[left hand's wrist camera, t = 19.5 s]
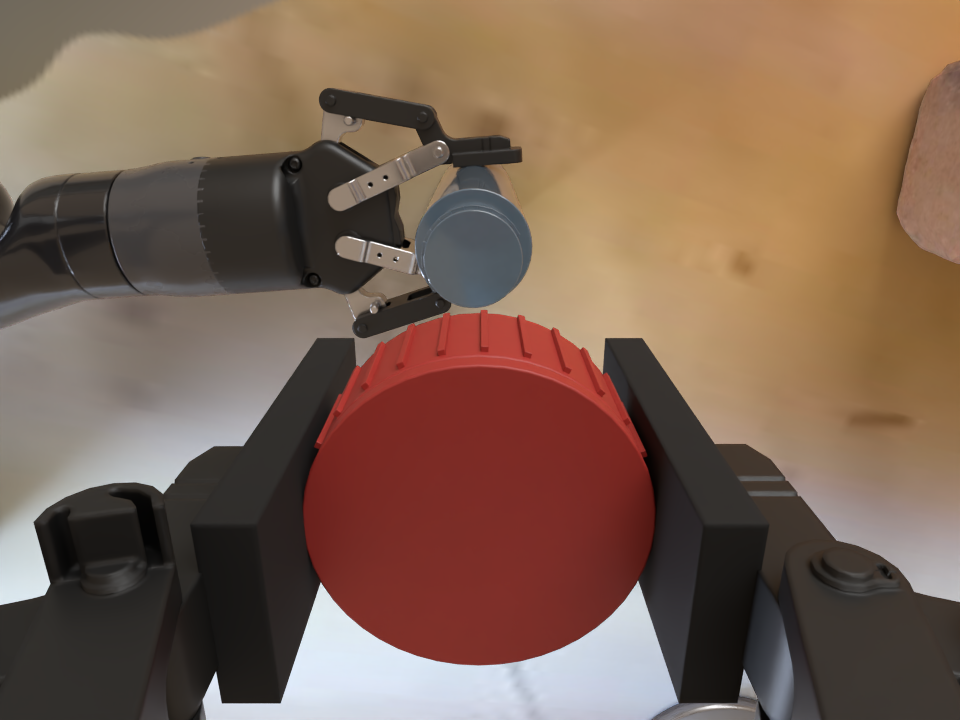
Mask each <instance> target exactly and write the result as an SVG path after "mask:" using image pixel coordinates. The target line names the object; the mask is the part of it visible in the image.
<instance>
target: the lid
mask: <svg viewBox="0 0 960 720" xmlns="http://www.w3.org/2000/svg"><path fill="white" fill-rule="evenodd" d="M314 447H315V448H317V449H319V451H318V453H317V455H316V457H315V460H314V462H313V464H312V466H311V468H310V472H309V475H308V479H307V482H306V486H305V490H304V498H303V518H304V528H305V536H306V545H307V550H308V553H309V556H310V559H311V562H312V565H313V567H314V569H315V571H316V573H317V575H318V577H319V579H320V581H321V583H322V585H323V586H324V587H325V589H326V590H327V592H328V593H329V595H330V596H331V597H332V599H333V600H334V601H335V602H336V604H337V605H338V606H339V607H340V608H341V609H342V610H343V611H344V612H345V613H346V614H347V615H348V616H349V617H350V618H351V619H352V620H354V621H355V622H356V623H357V624H358V625H359V626H361V627H362V628H363V629H365V630H366V631H368V632H369V633H371V634H372V635H374V636H375V637H377V638H378V639H380V640H382V641H384V642H386V643H388V644H390V645H392V646H394V647H396V648H398V649H400V650H403V651H406V652H408V653H411V654H414V655H416V656H420V657H423V658H427V659H431V660H435V661H440V662H446V663H453V664H462V665H497V664H505V663H512V662H519V661H523V660H527V659H531V658H535V657H539V656H542V655H545V654H547V653H550V652H553V651H555V650H558V649H560V648H562V647H564V646H566V645H568V644H570V643H572V642H574V641H576V640H578V639H580V638H581V637H583V636H584V635H586V634H587V633H589V632H590V631H592V630H593V629H595V628H596V627H597V626H599V625H600V624H601V623H602V622H603V621H605V620H606V619H607V618H608V617H609V616H611V615H612V613H613V612H614V611H615V610H616V609H617V608H618V607H619V606H620V605H621V604H622V603H623V602H624V600H625V599H626V598H627V596H628V595H629V593H630V592H631V591H632V589H633V588H634V586H635V585H636V583H637V581H638V579H639V577H640V575H641V573H642V572H643V570H644V568H645V565H646V562H647V559H648V556H649V554H650V551H651V548H652V543H653V537H654V531H655V517H656V506H655V498H654V489H653V485H652V482H651V478H650V475H649V471H648V468H647V466H646V464H645V462H644V460H643V458H644V457H647V453H646V451H645V448H644V446H643V444H642V442H641V440H640V438H639V436H638V434H637V432H636V429H635V427H634V425H633V423H632V421H631V419H630V417H629V415H628V413H627V411H626V408H625V406H624V404H623V402H621V400H620V398H619V395H618V393H617V391H616V389H615V387H614V385H613V383H612V381H611V379H610V377H609V375H608V374H607V373H605V374H603V375H602V373H601V371H600V370H599V369H598V368H597V367H596V365H595V364H594V363H593V362H592V360H591V358H590V355H589V353H588V351H587V350H586V349H585V348H584V347H583V348H582V349H581V350H580V349H579V348H577V347H576V346H575V345H574V344H573V343H571V342H570V341H568V340H567V339H565V338H563V337H562V336H560V333H559V330H557V329H556V328H553V329H552V330H549V329H547V328H545V327H543V326H541V325H539V324H536V323H533V322H530V321H526V320H525V317H524V316H522V315H518V317H517V318H516V317H510V316H505V315H500V314H488V313H487V310H481V313H474V314H458V315H453V316H450V313H445V314H443V318H438V319H435V320H432V321H429V322H426V323H423V324H420V325H418V326H415V324H414V323H413V324H411V325H409V326H408V328H407V331H405V332H403V333H401V334H399V335H398V336H396V337H395V338H393V339H392V340H390V341H389V342H387V343H386V344H384V342H381V343H379V344H378V346H377V348H376V350H375V353H374V354H373V355H372V356H371V357H370V358H369V359H368V360H367V361H366V362H365V364H364V365H363V366H362V367H361V368H360V367H359V366H356V367H355V369H354V370H353V372H352V374H351V376H350V379H349V381H348V383H347V385H346V387H345V389H344V391H343V393H342V394H339V396H338V398H337V400H336V402H335V404H334V406H333V408H332V410H331V412H330V414H329V416H328V418H327V420H326V423H325V425H324V427H323V429H322V431H321V433H320V435H319V437H318V439H317V441H316V443H315V446H314Z"/></svg>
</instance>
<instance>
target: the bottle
mask: <svg viewBox="0 0 960 720" xmlns="http://www.w3.org/2000/svg"><path fill="white" fill-rule="evenodd" d="M415 255H416V260H417V264H418V267H419V269H420V271H421V273H422V275H423V277H424V278H425V280H426V282H427V284H428V285H429V286H430V288H431V289H432V291H433V292H437V293H438V294H439V295H440V296H441V297H443V298H444V299H445V300H447V301H449V302H451V303H453V304H455V305H458V306H462V307H467V308H479V307H485V306H489V305H491V304H494V303H496V302H498V301H499V300H501V299H502V298H504V297H505V296H506V295H507V294H508V293H510V292H511V291H512V290H513V289H514V288H515V287H516V286H517V285H518V284H519V283H520V282H521V280H522V279H523V277H524V276H525V274H526V272H527V270H528V267H529V264H530V261H531V256H532V237H531V233H530V229H529V226H528V224H527V221H526V219H525V216H524V213H523V211H522V208H521V206H520V203H519V201H518V198H517V195H516V193H515V190H514V188H513V185H512V182H511V180H510V177H509V176H508V174H507V172H506V171H505V169H504V168H503V167H502V166H501V165H500V164H495V165H483V166H469V167H457V168H453V164H452V165H451V166H450V167H449V168H448V169H447V170H446V171H445V173H444V174H443V176H442V178H441V180H440V182H439V184H438V186H437V188H436V191H435V193H434V195H433V197H432V199H431V201H430V203H429V205H428V207H427V209H426V211H425V213H424V215H423V217H422V219H421V221H420V224H419V226H418V229H417V233H416V238H415Z"/></svg>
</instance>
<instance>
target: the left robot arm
mask: <svg viewBox="0 0 960 720" xmlns="http://www.w3.org/2000/svg"><path fill="white" fill-rule="evenodd" d="M355 367H356V357H355V342H354V338H317V339H316V341H315V342H314V344H313V345H312V347H311V348H310V350H309V351H308V353H307V354H306V356H305V357H304V358H303V360H302V361H301V363H300V364H299V366H298V367H297V369H296V370H295V372H294V373H293V375H292V376H291V377H290V379H289V380H288V382H287V383H286V385H285V386H284V388H283V389H282V391H281V392H280V394H279V395H278V396H277V398H276V399H275V401H274V402H273V404H272V405H271V407H270V408H269V410H268V411H267V413H266V414H265V415H264V417H263V418H262V420H261V421H260V423H259V424H258V426H257V427H256V429H255V430H254V431H253V433H252V434H251V436H250V437H249V439H248V440H247V442H246V443H245V445H244V446H214V447H212V448H211V449H209V450H208V451H206V452H204V453H203V454H201V455H200V456H198V457H196V458H195V459H193V460H192V461H190V462H189V463H188V464H187V465H186V467H185V468H184V469H183V470H182V472H181V473H180V474H179V475H178V477H177V478H176V479H175V484H171V485H170V486H169V488H168V489H167V490H166V491H165V493H164V494H162V493H161V492H160V491H158V490H157V489H156V488H154V487H153V486H149V485H145V484H140V483H113V484H108V485H103V486H98V487H93V488H89V489H86V490H84V491H81V492H78V493H76V494H73V495H70V496H68V497H65V498H64V499H62V500H60V501H59V502H57V503H55V504H54V505H52V506H50V507H49V508H47V509H46V510H45V511H44V512H43V513H42V514H41V515H40V516H39V517H38V518H37V519H36V520H35V521H34V525H35V529H36V533H37V536H38V540H39V544H40V547H41V551H42V555H43V558H44V562H45V565H46V569H47V573H48V576H49V580H50V586H49V588H48V590H47V592H46V594H45V595H44V596H41V597H37V598H33V599H29V600H24V601H19V602H14V603H9V604H4V605H0V720H206V716H205V711H204V706H203V698H204V696H205V693H206V691H207V689H208V687H209V685H210V683H211V681H212V678H213V676H214V674H215V672H216V673H217V678H218V684H219V689H220V695H221V701H222V703H281V700H282V697H283V694H284V691H285V688H286V685H287V682H288V679H289V676H290V673H291V670H292V667H293V664H294V661H295V658H296V655H297V652H298V649H299V646H300V643H301V640H302V637H303V634H304V631H305V628H306V625H307V622H308V619H309V616H310V613H311V610H312V607H313V604H314V601H315V598H316V595H317V592H318V589H319V585H320V582H321V581H320V579H319V577H318V575H317V573H316V571H315V569H314V567H313V565H312V562H311V559H310V556H309V553H308V550H307V545H306V536H305V528H304V518H303V498H304V490H305V486H306V482H307V479H308V475H309V472H310V468H311V466H312V464H313V462H314V460H315V457H316V455H317V453H318V451H319V449H317V448H315V447H314V446H315V443H316V441H317V439H318V437H319V435H320V433H321V431H322V429H323V427H324V425H325V423H326V420H327V418H328V416H329V414H330V412H331V410H332V408H333V406H334V404H335V402H336V400H337V398H338V396H339V394H342V393H343V391H344V389H345V387H346V385H347V383H348V381H349V379H350V376H351V374H352V372H353V370H354V369H355ZM605 373H607V374H608V375H609V377H610V379H611V381H612V383H613V385H614V387H615V389H616V391H617V393H618V395H619V398H620V400H621V402H623V404H624V406H625V408H626V411H627V413H628V415H629V417H630V419H631V421H632V423H633V425H634V427H635V429H636V432H637V434H638V436H639V438H640V440H641V442H642V444H643V446H644V448H645V451H646V453H647V457H644V458H643V460H644V462H645V464H646V466H647V468H648V471H649V475H650V478H651V482H652V485H653V489H654V498H655V506H656V517H655V531H654V537H653V543H652V548H651V551H650V554H649V556H648V559H647V562H646V565H645V568H644V570H643V572H642V573H641V575H640V577H639V579H638V581H639V584H640V587H641V590H642V593H643V596H644V599H645V602H646V605H647V608H648V611H649V614H650V617H651V620H652V623H653V626H654V629H655V632H656V635H657V638H658V641H659V644H660V647H661V650H662V653H663V656H664V659H665V662H666V665H667V668H668V672H669V675H670V678H671V681H672V684H673V687H674V690H675V693H676V696H677V699H678V702H679V703H680V704H677V705H675V706H673V707H671V708H669V709H667V710H665V711H663V712H662V713H660V714H659V715H657V716H656V717H654V718H653V719H652V720H960V602H956V601H951V600H946V599H942V598H937V597H932V596H927V595H923V594H920V593H916V592H914V591H913V589H912V587H911V585H910V583H909V582H908V580H907V579H906V578H905V577H904V575H903V574H902V573H901V572H900V570H899V569H898V568H897V567H895V566H894V565H892V564H891V563H889V562H888V561H887V560H885V559H884V558H882V557H881V556H879V555H877V554H875V553H873V552H870V551H868V550H866V549H864V548H861V547H859V546H856V545H852V544H848V543H844V542H840V541H836V540H835V538H834V537H833V536H832V535H831V533H830V532H829V531H828V530H827V528H826V527H825V526H824V525H823V524H822V522H821V521H820V520H819V519H818V517H817V516H816V515H815V514H814V512H813V511H812V510H811V509H810V508H809V506H808V505H807V504H806V503H805V501H804V500H803V499H802V498H801V496H797V491H796V490H795V489H794V488H793V487H792V485H791V484H790V483H789V482H788V481H785V477H784V475H783V474H782V473H781V472H780V471H779V469H778V468H777V467H776V466H775V464H774V463H773V462H772V461H771V459H769V458H767V457H766V456H764V455H762V454H761V453H759V452H758V451H756V450H754V449H753V448H751V447H749V446H748V445H746V444H714V442H713V441H712V439H711V438H710V437H709V435H708V434H707V432H706V431H705V429H704V428H703V426H702V425H701V423H700V422H699V420H698V419H697V418H696V416H695V415H694V413H693V412H692V410H691V409H690V407H689V406H688V404H687V403H686V401H685V400H684V399H683V397H682V396H681V394H680V393H679V391H678V390H677V388H676V387H675V385H674V384H673V382H672V381H671V380H670V378H669V377H668V375H667V374H666V372H665V371H664V369H663V368H662V366H661V365H660V364H659V362H658V361H657V359H656V358H655V356H654V355H653V353H652V352H651V350H650V349H649V347H648V346H647V345H646V343H645V342H644V340H643V339H642V338H605V350H604V365H603V374H605ZM744 669H745V672H746V674H747V676H748V678H749V680H750V682H751V684H752V687H753V689H754V691H755V693H756V695H757V697H758V700H757V701H755V700H752V699H748V698H744V697H739V693H740V687H741V681H742V676H743V670H744Z"/></svg>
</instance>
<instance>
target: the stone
mask: <svg viewBox="0 0 960 720" xmlns="http://www.w3.org/2000/svg"><path fill="white" fill-rule="evenodd" d="M897 215H898V218H899V221H900V223H901V225H902V227H903V229H904V230H905V232H906V233H907V234H908V235H909V236H910V238H911V239H912V240H913V241H914V242H915V243H916V244H917V245H918V246H919V247H920V248H922V249H923V250H926V251H928V252H931V253H933V254H936V255H938V256H940V257H942V258H944V259H946V260H949V261H952V262H954V263H957V264H960V61H957V62H954V63H951V64H948V65H947V66H946V67H945V69H944V70H943V71H942V72H941V73H940V74H938V75H937V76H936V77H934V78H933V79H932V80H931V81H930V84H929V86H928V88H927V90H926V93H925V95H924V97H923V100H922V103H921V106H920V109H919V114H918V119H917V124H916V128H915V132H914V136H913V139H912V142H911V145H910V149H909V154H908V159H907V163H906V166H905V171H904V177H903V183H902V187H901V192H900V196H899V199H898V206H897Z"/></svg>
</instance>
